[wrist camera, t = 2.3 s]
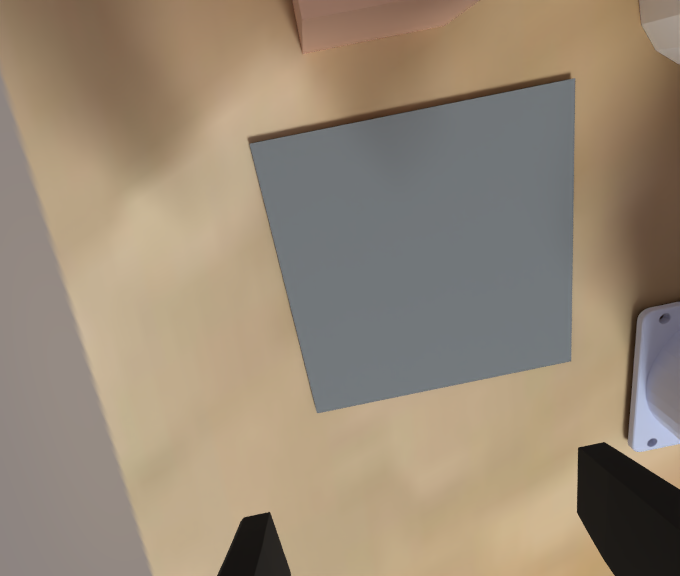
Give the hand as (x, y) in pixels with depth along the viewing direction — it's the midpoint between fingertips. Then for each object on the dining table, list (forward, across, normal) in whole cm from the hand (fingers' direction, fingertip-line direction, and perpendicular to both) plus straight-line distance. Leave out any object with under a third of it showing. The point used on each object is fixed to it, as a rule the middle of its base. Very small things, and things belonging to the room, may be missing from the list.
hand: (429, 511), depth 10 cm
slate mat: (+9, -3, -2) cm, 10 cm away
